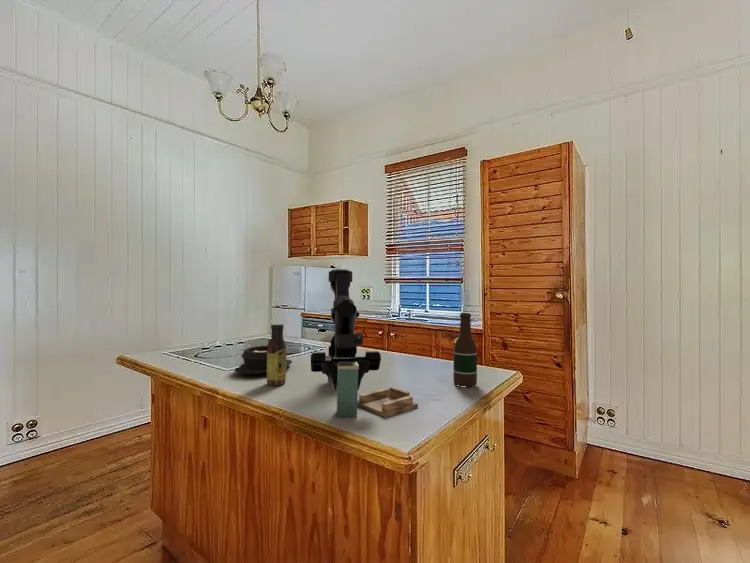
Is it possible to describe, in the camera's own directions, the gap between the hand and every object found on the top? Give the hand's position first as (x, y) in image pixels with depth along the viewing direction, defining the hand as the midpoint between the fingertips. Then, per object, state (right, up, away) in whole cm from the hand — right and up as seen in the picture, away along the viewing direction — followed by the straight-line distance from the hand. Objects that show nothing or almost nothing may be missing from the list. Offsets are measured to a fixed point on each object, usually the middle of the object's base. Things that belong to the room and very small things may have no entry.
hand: (346, 389), depth 98 cm
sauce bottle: (-26, -7, +30) cm, 40 cm away
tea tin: (0, -7, +2) cm, 7 cm away
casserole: (-35, -7, +48) cm, 60 cm away
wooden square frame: (+10, -7, +8) cm, 14 cm away
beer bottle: (+37, -7, +30) cm, 48 cm away
